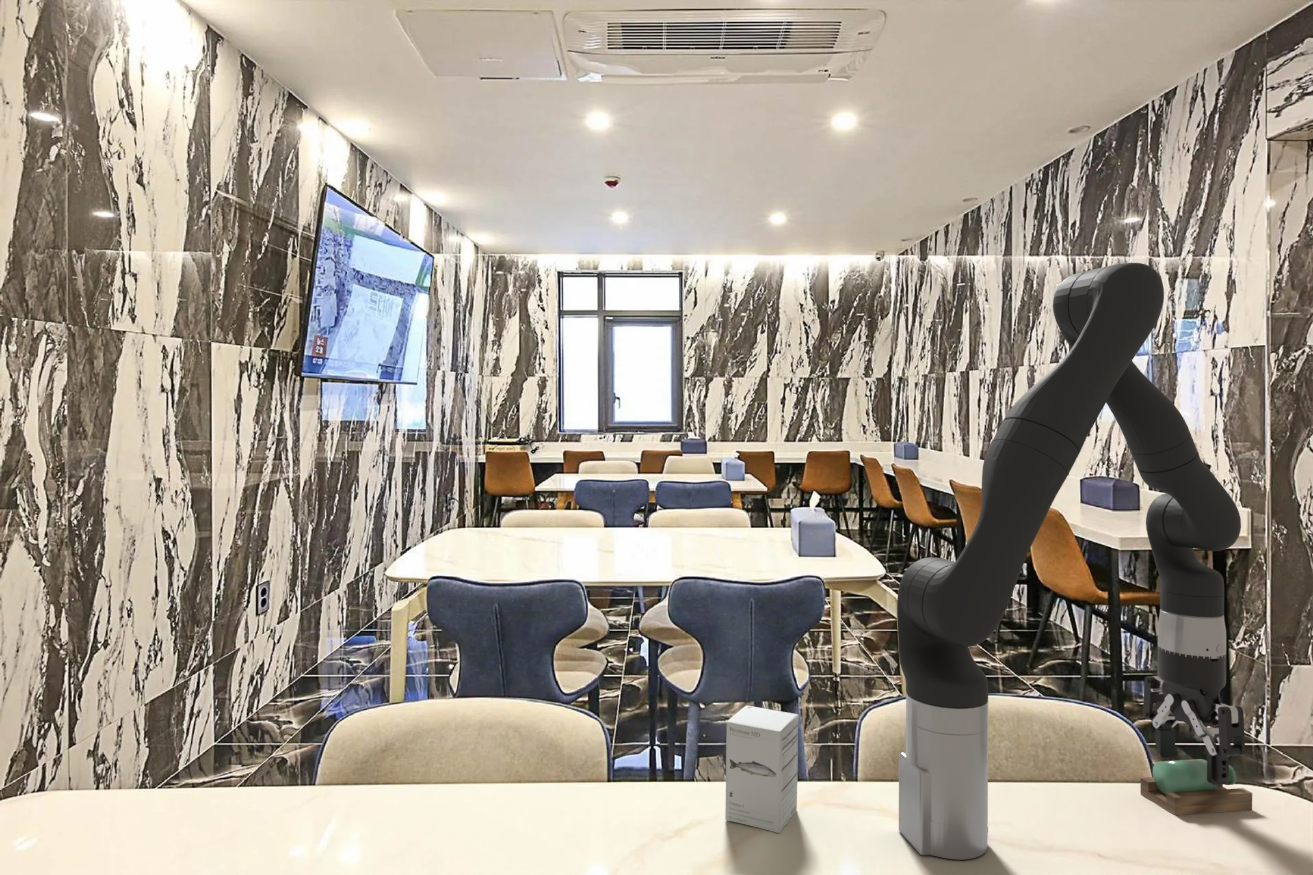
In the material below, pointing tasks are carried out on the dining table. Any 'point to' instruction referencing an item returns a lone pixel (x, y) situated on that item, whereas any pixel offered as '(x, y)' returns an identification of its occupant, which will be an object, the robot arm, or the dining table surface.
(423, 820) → the dining table surface
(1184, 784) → the bottle
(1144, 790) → the bottle rest
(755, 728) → the supplement box
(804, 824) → the dining table surface
